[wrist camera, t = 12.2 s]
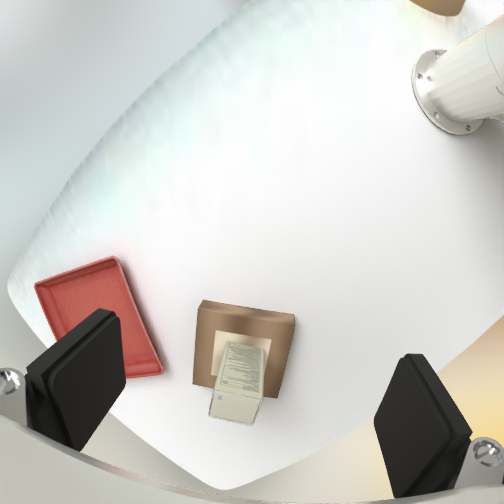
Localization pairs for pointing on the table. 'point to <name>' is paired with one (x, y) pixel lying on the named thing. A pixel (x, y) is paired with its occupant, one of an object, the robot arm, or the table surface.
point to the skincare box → (238, 384)
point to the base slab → (241, 341)
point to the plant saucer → (99, 296)
